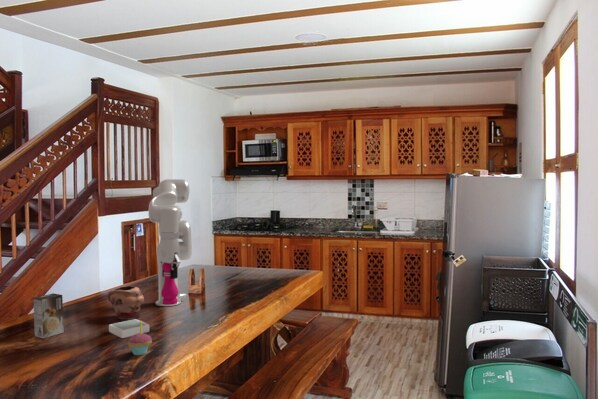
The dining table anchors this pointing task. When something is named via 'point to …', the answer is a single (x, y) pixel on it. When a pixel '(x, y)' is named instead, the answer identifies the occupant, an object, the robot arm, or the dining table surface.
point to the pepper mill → (169, 286)
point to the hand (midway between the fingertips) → (170, 277)
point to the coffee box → (48, 315)
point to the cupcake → (139, 342)
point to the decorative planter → (126, 301)
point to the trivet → (128, 328)
